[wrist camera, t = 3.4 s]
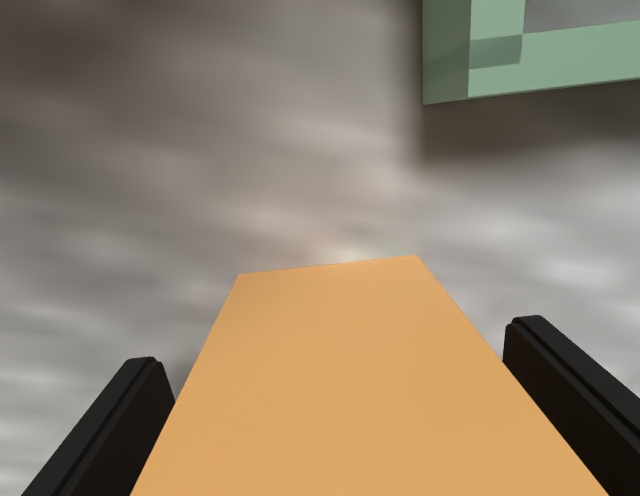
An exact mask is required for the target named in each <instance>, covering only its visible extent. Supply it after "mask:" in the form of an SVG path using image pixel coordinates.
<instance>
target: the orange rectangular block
mask: <svg viewBox="0 0 640 496" xmlns="http://www.w3.org/2000/svg"><path fill="white" fill-rule="evenodd" d="M130 496H609V495H608V494H607V492H606V491H605V490H604V489H603V487H602V486H601V485H600V484H599V482H598V481H597V480H596V479H595V477H594V476H593V475H592V474H591V472H590V471H589V470H588V469H587V467H586V466H585V465H584V464H583V462H582V461H581V460H580V459H579V457H578V456H577V455H576V454H575V452H574V451H573V450H572V449H571V447H570V446H569V445H568V444H567V442H566V441H565V440H564V439H563V437H562V436H561V435H560V434H559V432H558V431H557V430H556V429H555V427H554V426H553V425H552V424H551V422H550V421H549V420H548V418H547V417H546V416H545V415H544V413H543V412H542V411H541V410H540V408H539V407H538V406H537V405H536V403H535V402H534V401H533V400H532V398H531V397H530V396H529V395H528V393H527V392H526V391H525V390H524V388H523V387H522V386H521V385H520V383H519V382H518V381H517V380H516V378H515V377H514V376H513V375H512V373H511V372H510V371H509V370H508V368H507V367H506V366H505V365H504V363H503V362H502V361H501V360H500V358H499V357H498V356H497V355H496V353H495V352H494V351H493V350H492V348H491V347H490V346H489V345H488V343H487V342H486V341H485V340H484V338H483V337H482V336H481V335H480V333H479V332H478V331H477V329H476V328H475V327H474V326H473V324H472V323H471V322H470V321H469V319H468V318H467V317H466V316H465V314H464V313H463V312H462V311H461V309H460V308H459V307H458V306H457V304H456V303H455V302H454V301H453V299H452V298H451V297H450V296H449V294H448V293H447V292H446V291H445V289H444V288H443V287H442V286H441V284H440V283H439V282H438V281H437V279H436V278H435V277H434V276H433V274H432V273H431V272H430V271H429V269H428V268H427V267H426V266H425V264H424V263H423V262H422V261H421V259H420V258H419V257H418V256H417V255H410V256H401V257H392V258H383V259H373V260H364V261H355V262H346V263H337V264H328V265H319V266H310V267H301V268H292V269H283V270H273V271H264V272H255V273H246V274H238V277H237V279H236V281H235V283H234V285H233V287H232V289H231V291H230V293H229V295H228V297H227V299H226V301H225V303H224V305H223V307H222V309H221V311H220V313H219V315H218V317H217V319H216V321H215V323H214V325H213V327H212V329H211V332H210V334H209V336H208V338H207V340H206V342H205V344H204V346H203V348H202V350H201V352H200V354H199V356H198V358H197V360H196V362H195V364H194V366H193V368H192V370H191V372H190V374H189V376H188V378H187V380H186V382H185V384H184V387H183V389H182V391H181V393H180V395H179V397H178V399H177V401H176V403H175V405H174V407H173V409H172V411H171V413H170V415H169V417H168V419H167V421H166V423H165V425H164V427H163V429H162V431H161V433H160V435H159V437H158V439H157V442H156V444H155V446H154V448H153V450H152V452H151V454H150V456H149V458H148V460H147V462H146V464H145V466H144V468H143V470H142V472H141V474H140V476H139V478H138V480H137V482H136V484H135V486H134V488H133V490H132V492H131V494H130Z"/></svg>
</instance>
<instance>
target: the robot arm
mask: <svg viewBox="0 0 640 496" xmlns="http://www.w3.org/2000/svg"><path fill="white" fill-rule="evenodd" d="M502 362H503V363H504V365H505V366H506V367H507V368H508V370H509V371H510V372H511V373H512V375H513V376H514V377H515V378H516V380H517V381H518V382H519V383H520V385H521V386H522V387H523V388H524V390H525V391H526V392H527V393H528V395H529V396H530V397H531V398H532V400H533V401H534V402H535V403H536V405H537V406H538V407H539V408H540V410H541V411H542V412H543V413H544V415H545V416H546V417H547V418H548V420H549V421H550V422H551V424H552V425H553V426H554V427H555V429H556V430H557V431H558V432H559V434H560V435H561V436H562V437H563V439H564V440H565V441H566V442H567V444H568V445H569V446H570V447H571V449H572V450H573V451H574V452H575V454H576V455H577V456H578V457H579V459H580V460H581V461H582V462H583V464H584V465H585V466H586V467H587V469H588V470H589V471H590V472H591V474H592V475H593V476H594V477H595V479H596V480H597V481H598V482H599V484H600V485H601V486H602V487H603V489H604V490H605V491H606V492H607V494H608V495H609V496H640V398H639V397H638V396H636V395H635V394H634V393H633V392H632V391H630V390H629V389H628V388H627V387H626V386H624V385H623V384H622V383H621V382H620V381H618V380H617V379H616V378H615V377H614V376H613V375H611V374H610V373H609V372H608V371H607V370H605V369H604V368H603V367H602V366H601V365H599V364H598V363H597V362H596V361H595V360H593V359H592V358H591V357H590V356H589V355H588V354H586V353H585V352H584V351H583V350H582V349H580V348H579V347H578V346H577V345H576V344H574V343H573V342H572V341H571V340H570V339H568V338H567V337H566V336H565V335H564V334H563V333H561V332H560V331H559V330H558V329H557V328H555V327H554V326H553V325H552V324H551V323H549V322H548V321H547V320H546V319H545V318H543V317H542V316H540V315H532V316H523V317H515V318H513V320H512V322H511V324H508V325H507V326H506V329H505V339H504V350H503V360H502ZM175 403H176V402H175V399H174V396H173V393H172V390H171V387H170V384H169V381H168V378H167V375H166V372H165V369H164V366H163V364H162V363H161V362H159V361H156V359H155V358H154V357H151V356H150V357H141V358H132V359H128V360H127V361H126V362H125V363H124V364H123V365H122V367H121V368H120V369H119V370H118V372H117V373H116V374H115V376H114V377H113V378H112V379H111V381H110V382H109V383H108V384H107V386H106V387H105V388H104V390H103V391H102V392H101V393H100V395H99V396H98V397H97V399H96V400H95V401H94V402H93V404H92V405H91V406H90V408H89V409H88V410H87V411H86V413H85V414H84V415H83V417H82V418H81V419H80V420H79V422H78V423H77V424H76V426H75V427H74V428H73V429H72V431H71V432H70V433H69V435H68V436H67V437H66V438H65V440H64V441H63V442H62V444H61V445H60V446H59V447H58V449H57V450H56V451H55V453H54V454H53V455H52V456H51V458H50V459H49V460H48V461H47V463H46V464H45V465H44V467H43V468H42V469H41V470H40V472H39V473H38V474H37V476H36V477H35V478H34V479H33V481H32V482H31V483H30V485H29V486H28V487H27V488H26V490H25V491H24V492H23V494H22V495H21V496H130V494H131V492H132V490H133V488H134V486H135V484H136V482H137V480H138V478H139V476H140V474H141V472H142V470H143V468H144V466H145V464H146V462H147V460H148V458H149V456H150V454H151V452H152V450H153V448H154V446H155V444H156V442H157V439H158V437H159V435H160V433H161V431H162V429H163V427H164V425H165V423H166V421H167V419H168V417H169V415H170V413H171V411H172V409H173V407H174V405H175Z"/></svg>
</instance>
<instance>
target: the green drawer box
mask: <svg viewBox="0 0 640 496" xmlns="http://www.w3.org/2000/svg"><path fill="white" fill-rule="evenodd" d="M525 1H526V0H422V86H423V105H427V104H435V103H444V102H452V101H461V100H469V99H478V98H486V97H495V96H503V95H512V94H520V93H528V92H537V91H545V90H554V89H562V88H571V87H579V86H588V85H596V84H605V83H613V82H622V81H630V80H639V79H640V20H634V21H626V22H618V23H610V24H601V25H593V26H585V27H577V28H569V29H560V30H552V31H544V32H536V33H527V34H523V24H524V13H525Z"/></svg>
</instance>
